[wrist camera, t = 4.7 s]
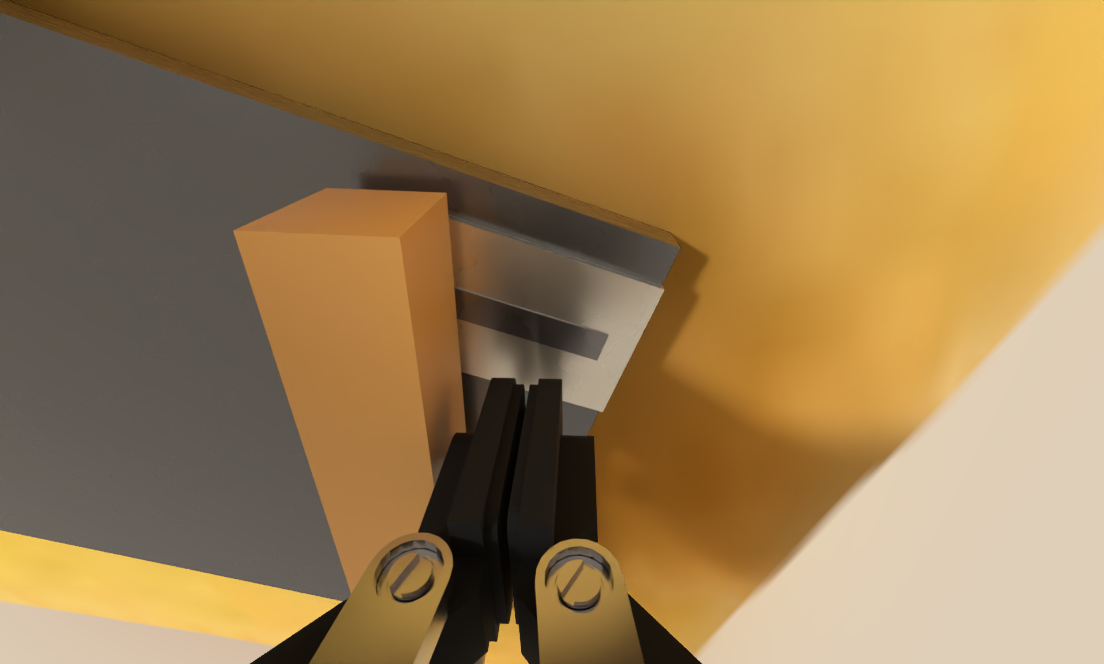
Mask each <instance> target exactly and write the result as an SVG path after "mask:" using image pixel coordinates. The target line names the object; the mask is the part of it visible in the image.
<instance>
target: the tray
mask: <svg viewBox="0 0 1104 664" xmlns="http://www.w3.org/2000/svg"><path fill="white" fill-rule="evenodd" d="M325 188H342V189H366V190H391V191H416V192H441V193H447V204H448V216H449V228H450V241H451V253H452V265H453V277H454V290H455V302H456V314H457V327H458V339H459V351H460V364H461V376H462V388H463V401H464V413H465V425H466V433H474V432H475V429H476V426H477V423H478V419H479V416H480V413H481V410H482V406H483V403H484V400H485V397H486V394H487V390H488V387H489V384H490V381H491V378H515V379H516V384H524V388H525V404H527V398H528V392H529V386H530V384H534V385H538V381H539V378H540V379H562V414H563V435H572V436H587V435H588V433H589V431H590V429H591V427H592V425H593V423H594V421H595V419H596V417H597V415H598V413H599V411H600V412H603V411H604V409H605V407H606V405H607V403H608V401H609V399H610V397H611V395H612V393H613V391H614V389H615V387H616V385H617V383H618V381H619V379H620V377H621V375H622V373H623V371H624V369H625V367H626V365H627V363H628V361H629V359H630V357H631V355H632V353H633V351H634V349H635V347H636V345H637V343H638V341H639V339H640V338H641V336H642V334H643V332H644V330H645V328H646V326H647V324H648V322H649V320H650V318H651V316H652V314H653V312H654V310H655V308H656V306H657V304H658V302H659V300H660V298H661V296H662V294H663V292H664V288H663V285H662V284H663V282H664V280H665V278H666V276H667V274H668V272H669V270H670V268H671V266H672V264H673V262H674V260H675V258H676V256H677V254H678V252H679V250H680V246H679V245H678V243H677V242H676V240H675V239H674V237H673V236H672V234H671V233H670V232H667V231H664V230H661V229H658V228H656V227H653V226H650V225H647V224H644V223H641V222H638V221H636V220H633V219H630V218H627V217H624V216H621V215H618V214H616V213H613V212H610V211H607V210H604V209H601V208H598V207H596V206H593V205H590V204H587V203H584V202H581V201H578V200H575V199H573V198H570V197H567V196H564V195H561V194H558V193H555V192H553V191H550V190H547V189H544V188H541V187H538V186H535V185H533V184H530V183H527V182H524V181H521V180H518V179H515V178H513V177H510V176H507V175H504V174H501V173H498V172H495V171H493V170H490V169H487V168H484V167H481V166H478V165H475V164H473V163H470V162H467V161H464V160H461V159H458V158H455V157H453V156H450V155H447V154H444V153H441V152H438V151H435V150H433V149H430V148H427V147H424V146H421V145H418V144H415V143H413V142H410V141H407V140H404V139H401V138H398V137H395V136H393V135H390V134H387V133H384V132H381V131H378V130H375V129H372V128H370V127H367V126H364V125H361V124H358V123H355V122H352V121H350V120H347V119H344V118H341V117H338V116H335V115H332V114H330V113H327V112H324V111H321V110H318V109H315V108H312V107H310V106H307V105H304V104H301V103H298V102H295V101H292V100H290V99H287V98H284V97H281V96H278V95H275V94H272V93H270V92H267V91H264V90H261V89H258V88H255V87H252V86H250V85H247V84H244V83H241V82H238V81H235V80H232V79H230V78H227V77H224V76H221V75H218V74H215V73H212V72H210V71H207V70H204V69H201V68H198V67H195V66H192V65H190V64H187V63H184V62H181V61H178V60H175V59H172V58H169V57H167V56H164V55H161V54H158V53H155V52H152V51H149V50H147V49H144V48H141V47H138V46H135V45H132V44H129V43H127V42H124V41H121V40H118V39H115V38H112V37H109V36H107V35H104V34H101V33H98V32H95V31H92V30H89V29H87V28H84V27H81V26H78V25H75V24H72V23H69V22H67V21H64V20H61V19H58V18H55V17H52V16H49V15H47V14H44V13H41V12H38V11H35V10H32V9H29V8H27V7H24V6H21V5H18V4H15V3H12V2H9V1H7V0H0V530H2V531H7V532H12V533H17V534H21V535H26V536H31V537H36V538H41V539H45V540H50V541H55V542H60V543H65V544H70V545H74V546H79V547H84V548H89V549H94V550H99V551H103V552H108V553H113V554H118V555H123V556H128V557H132V558H137V559H142V560H147V561H152V562H157V563H161V564H166V565H171V566H176V567H181V568H185V569H190V570H195V571H200V572H205V573H210V574H214V575H219V576H224V577H229V578H234V579H239V580H243V581H248V582H253V583H258V584H263V585H268V586H272V587H277V588H282V589H287V590H292V591H297V592H301V593H306V594H311V595H316V596H321V597H325V598H330V599H335V600H340V601H344V600H346V599H347V598H349V597H350V595H351V592H350V589H349V586H348V583H347V579H346V576H345V573H344V570H343V567H342V564H341V561H340V558H339V555H338V552H337V549H336V546H335V543H334V539H333V536H332V533H331V530H330V527H329V524H328V521H327V518H326V515H325V512H324V509H323V506H322V503H321V499H320V496H319V493H318V490H317V487H316V484H315V481H314V478H313V475H312V472H311V469H310V466H309V463H308V459H307V456H306V453H305V450H304V447H303V444H302V441H301V438H300V435H299V432H298V429H297V426H296V423H295V419H294V416H293V413H292V410H291V407H290V404H289V401H288V398H287V395H286V392H285V389H284V386H283V383H282V379H281V376H280V373H279V370H278V367H277V364H276V361H275V358H274V355H273V352H272V349H271V346H270V343H269V339H268V336H267V333H266V330H265V327H264V324H263V321H262V318H261V315H260V312H259V309H258V306H257V303H256V300H255V296H254V293H253V290H252V287H251V284H250V281H249V278H248V275H247V272H246V269H245V266H244V263H243V260H242V256H241V253H240V250H239V247H238V244H237V241H236V238H235V235H234V232H233V230H236V229H238V228H240V227H242V226H244V225H246V224H249V223H251V222H253V221H255V220H257V219H260V218H262V217H264V216H266V215H268V214H271V213H273V212H275V211H277V210H279V209H282V208H284V207H286V206H288V205H290V204H292V203H295V202H297V201H299V200H301V199H303V198H306V197H308V196H310V195H312V194H314V193H317V192H319V191H321V190H323V189H325Z"/></svg>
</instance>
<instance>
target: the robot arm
mask: <svg viewBox="0 0 1104 664" xmlns="http://www.w3.org/2000/svg"><path fill="white" fill-rule="evenodd" d="M513 598H514V608H515V618H516V624H519V632H520V642H521V653H522V655H523V656H524V657H525V659H526V660H527V661H528V663H529V664H702V663H701V662H700V661H698V660H697V659H696V658H695V657H694V656H693V655H692V654H691V653H690V652H689V651H688V650H687V649H686V648H685V647H684V646H683V645H682V644H681V643H679V642H678V641H677V640H676V639H675V638H674V637H673V636H672V635H671V634H670V633H669V632H668V631H667V630H666V629H665V628H664V627H663V626H662V625H660V624H659V623H658V622H657V621H656V620H655V619H654V618H653V617H652V616H651V615H650V614H649V613H648V612H647V611H646V610H645V609H644V608H643V607H641V606H640V605H639V604H638V603H637V602H636V601H635V600H634V599H633V598H632V597H631V596H630V595H629V594H628V593H627V589H626V585H625V581H624V577H623V573H622V571H621V568H620V566H619V563H618V561H617V560H616V558H615V557H614V556H613V555H612V554H611V552H610V551H609V550H607V549H606V548H604V547H603V546H601V545H600V544H598V536H597V508H596V480H595V452H594V436H572V435H563V414H562V379H540V378H539V381H538V385H534V384H530V386H529V392H528V398H527V404H525V388H524V384H516V379H515V378H491V381H490V384H489V387H488V390H487V394H486V397H485V400H484V403H483V406H482V410H481V413H480V416H479V419H478V423H477V426H476V429H475V432H474V433H458V432H456V433H455V434H454V436H453V438H452V440H451V443H450V446H449V448H448V451H447V454H446V457H445V459H444V462H443V465H442V467H441V470H440V473H439V476H438V478H437V481H436V484H435V487H434V489H433V492H432V495H431V498H430V500H429V503H428V506H427V508H426V511H425V514H424V517H423V519H422V522H421V525H420V528H419V530H418V533H417V532H416V533H412V534H407V535H403V536H401V537H399V538H397V539H395V540H393V541H391V542H390V543H388V544H387V545H386V546H385V547H383V548H382V549H381V550H380V551H379V552H378V553H377V554H376V556H375V557H374V558H373V559H372V561H371V562H370V564H369V565H368V567H367V569H366V570H365V572H364V573H363V575H362V577H361V578H360V580H359V582H358V583H357V585H356V587H355V588H354V590H353V592H352V593H351V595H350V597H349V598H347V599H346V600H344V601H343V602H341V603H340V604H338V605H337V606H335V607H334V608H332V609H331V610H329V611H328V612H326V613H325V614H324V615H322V616H321V617H319V618H318V619H316V620H315V621H313V622H312V623H310V624H309V625H307V626H306V627H304V628H303V629H301V630H300V631H298V632H297V633H295V634H294V635H292V636H291V637H289V638H288V639H286V640H285V641H283V642H282V643H280V644H279V645H277V646H276V647H274V648H273V649H271V650H270V651H268V652H267V653H265V654H264V655H262V656H261V657H259V658H258V659H256V660H255V661H253V662H252V663H250V664H474V663H476V662H477V661H478V660H479V659H480V658H481V657H482V656H483V655H485V654H486V653H487V652H488V647H489V641H495V642H497V638H498V632H499V625H500V623H501V624H509V621H510V616H511V609H512V601H513Z"/></svg>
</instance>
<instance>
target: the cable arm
mask: <svg viewBox="0 0 1104 664" xmlns="http://www.w3.org/2000/svg"><path fill="white" fill-rule="evenodd" d="M233 232H234V235H235V238H236V241H237V244H238V247H239V250H240V253H241V256H242V260H243V263H244V266H245V269H246V272H247V275H248V278H249V281H250V284H251V287H252V290H253V293H254V296H255V300H256V303H257V306H258V309H259V312H260V315H261V318H262V321H263V324H264V327H265V330H266V333H267V336H268V339H269V343H270V346H271V349H272V352H273V355H274V358H275V361H276V364H277V367H278V370H279V373H280V376H281V379H282V383H283V386H284V389H285V392H286V395H287V398H288V401H289V404H290V407H291V410H292V413H293V416H294V419H295V423H296V426H297V429H298V432H299V435H300V438H301V441H302V444H303V447H304V450H305V453H306V456H307V459H308V463H309V466H310V469H311V472H312V475H313V478H314V481H315V484H316V487H317V490H318V493H319V496H320V499H321V503H322V506H323V509H324V512H325V515H326V518H327V521H328V524H329V527H330V530H331V533H332V536H333V539H334V543H335V546H336V549H337V552H338V555H339V558H340V561H341V564H342V567H343V570H344V573H345V576H346V579H347V583H348V586H349V589H350V592H351V593H352V592H353V590H354V588H355V587H356V585H357V583H358V582H359V580H360V578H361V577H362V575H363V573H364V572H365V570H366V569H367V567H368V565H369V564H370V562H371V561H372V559H373V558H374V557H375V556H376V554H377V553H378V552H379V551H380V550H381V549H382V548H383V547H385V546H386V545H387V544H388V543H390V542H391V541H393V540H395V539H397V538H399V537H401V536H403V535H407V534H412V533H416V532H417V533H418V530H419V528H420V525H421V522H422V519H423V517H424V514H425V511H426V508H427V506H428V503H429V500H430V498H431V495H432V492H433V489H434V487H435V484H436V481H437V478H438V476H439V473H440V470H441V467H442V465H443V462H444V459H445V457H446V454H447V451H448V448H449V446H450V443H451V440H452V438H453V436H454V434H455V433H456V432H458V433H466V425H465V413H464V401H463V388H462V376H461V364H460V351H459V339H458V327H457V314H456V302H455V290H454V277H453V265H452V253H451V241H450V228H449V216H448V204H447V193H441V192H416V191H391V190H366V189H342V188H325V189H323V190H321V191H319V192H317V193H314V194H312V195H310V196H308V197H306V198H303V199H301V200H299V201H297V202H295V203H292V204H290V205H288V206H286V207H284V208H282V209H279V210H277V211H275V212H273V213H271V214H268V215H266V216H264V217H262V218H260V219H257V220H255V221H253V222H251V223H249V224H246V225H244V226H242V227H240V228H238V229H236V230H233ZM485 655H486V654H485ZM485 655H483V656H482V657H481V658H480V659H479V660H478V661H477V662H476V663H474V664H484V663H485Z"/></svg>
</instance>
